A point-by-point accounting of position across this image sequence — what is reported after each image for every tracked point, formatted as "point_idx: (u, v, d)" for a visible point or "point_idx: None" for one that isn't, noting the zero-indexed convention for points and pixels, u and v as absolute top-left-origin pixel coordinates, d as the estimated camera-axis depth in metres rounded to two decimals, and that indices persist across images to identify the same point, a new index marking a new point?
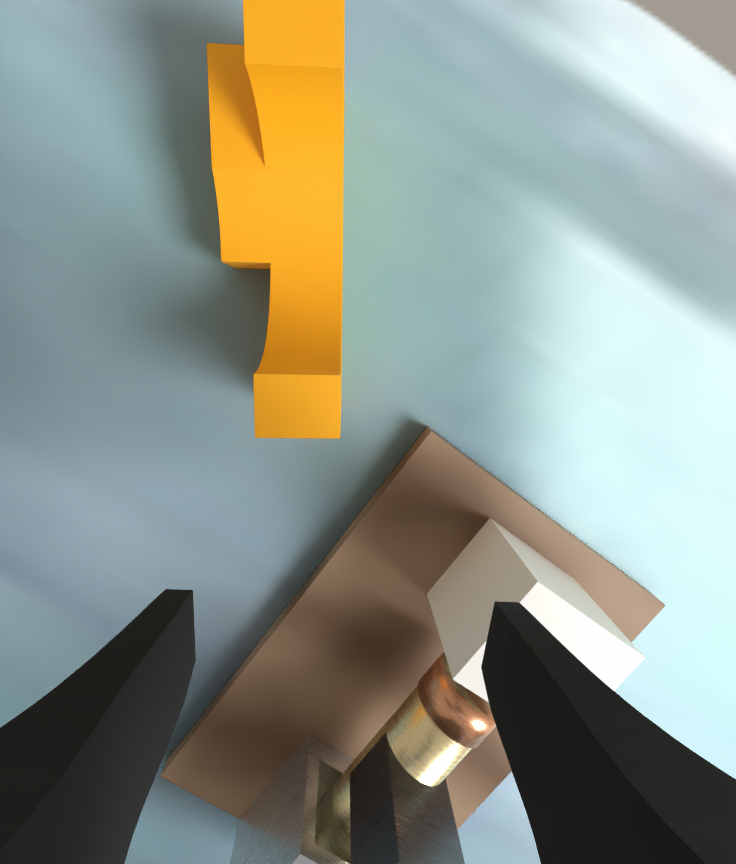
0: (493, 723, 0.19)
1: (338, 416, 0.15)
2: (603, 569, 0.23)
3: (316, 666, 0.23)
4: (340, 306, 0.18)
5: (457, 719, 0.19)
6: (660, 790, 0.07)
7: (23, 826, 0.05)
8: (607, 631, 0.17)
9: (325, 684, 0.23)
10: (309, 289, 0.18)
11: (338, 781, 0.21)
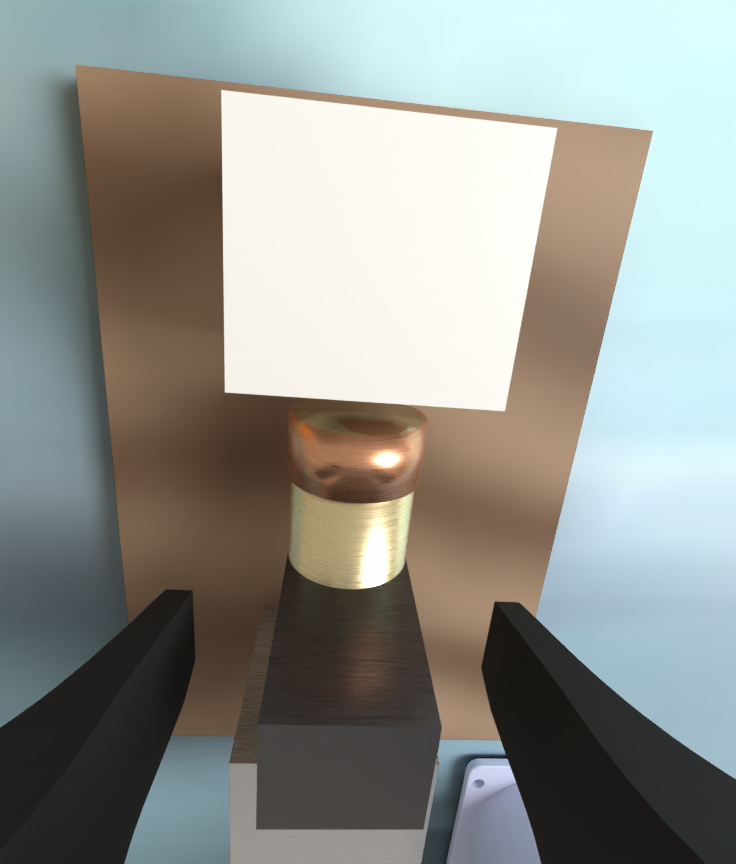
0: (395, 443, 0.10)
1: None
2: None
3: (204, 522, 0.16)
4: None
5: (331, 467, 0.10)
6: (660, 790, 0.07)
7: (23, 826, 0.05)
8: (441, 116, 0.07)
9: (232, 537, 0.16)
10: None
11: None
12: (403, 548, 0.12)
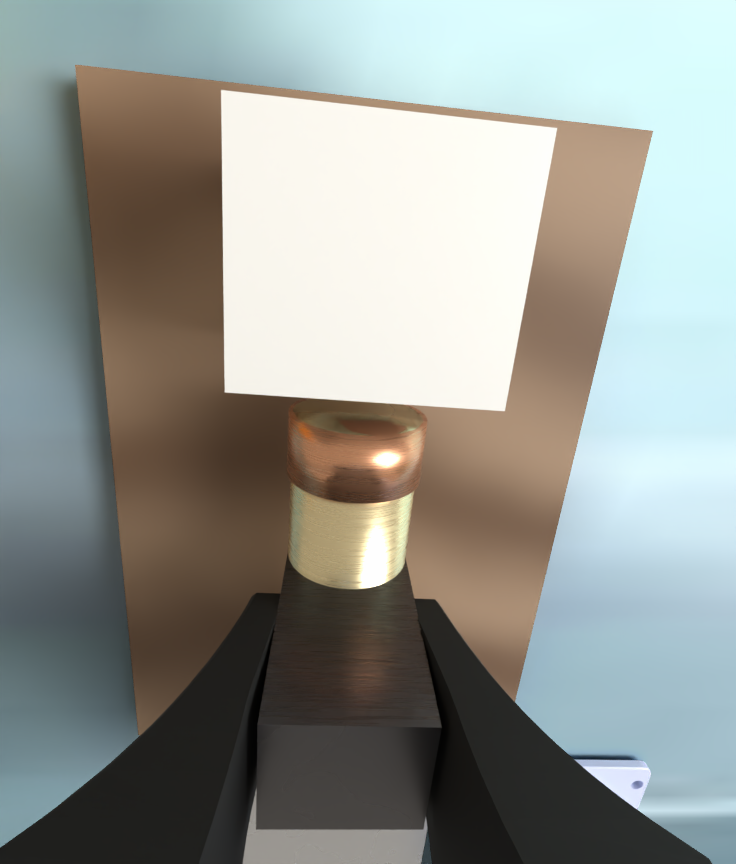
0: (395, 443, 0.10)
1: None
2: None
3: (203, 522, 0.16)
4: None
5: (331, 467, 0.10)
6: (512, 789, 0.06)
7: (209, 826, 0.06)
8: (440, 116, 0.07)
9: (232, 537, 0.16)
10: None
11: None
12: (403, 548, 0.12)
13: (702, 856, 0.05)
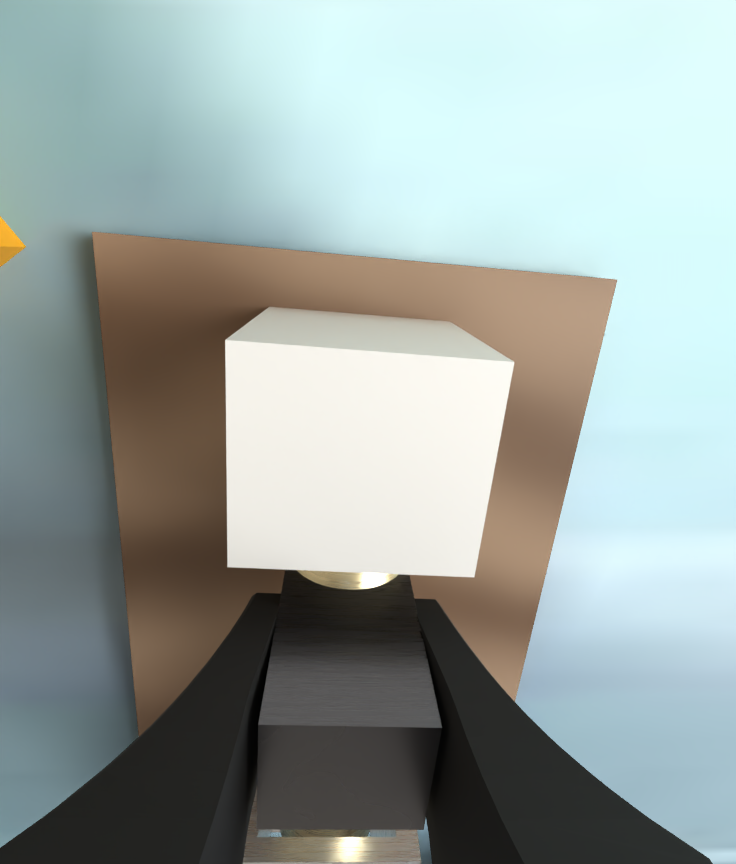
0: None
1: None
2: (486, 282, 0.14)
3: (206, 615, 0.17)
4: None
5: None
6: (512, 789, 0.06)
7: (209, 826, 0.06)
8: (413, 355, 0.09)
9: None
10: None
11: None
12: None
13: (702, 856, 0.05)
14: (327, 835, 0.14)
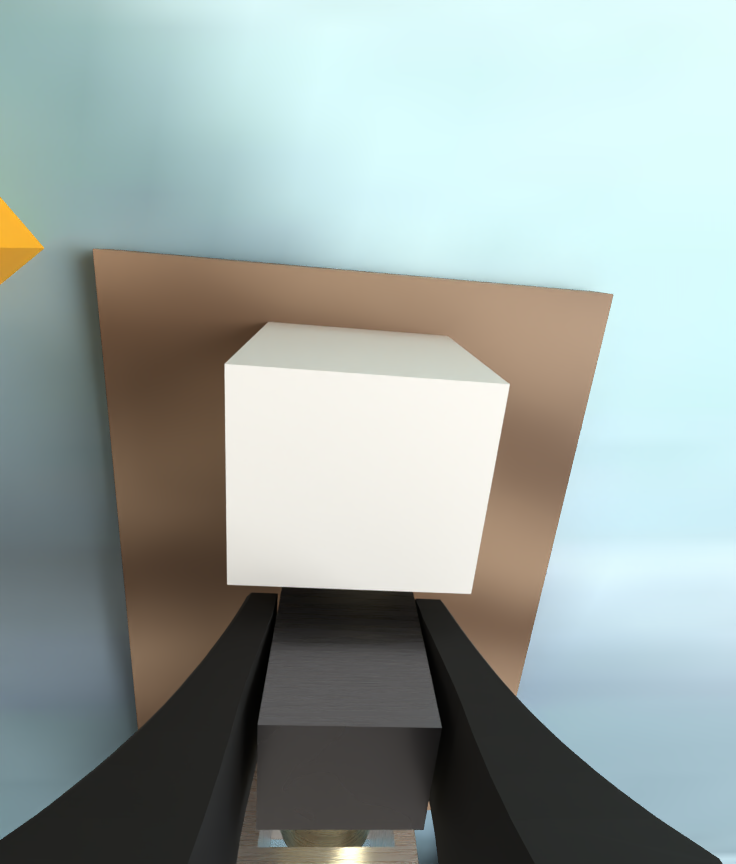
0: None
1: None
2: (483, 297, 0.14)
3: (207, 625, 0.17)
4: None
5: None
6: (521, 789, 0.06)
7: (200, 826, 0.06)
8: (410, 377, 0.09)
9: None
10: None
11: None
12: None
13: (712, 856, 0.06)
14: (327, 835, 0.14)
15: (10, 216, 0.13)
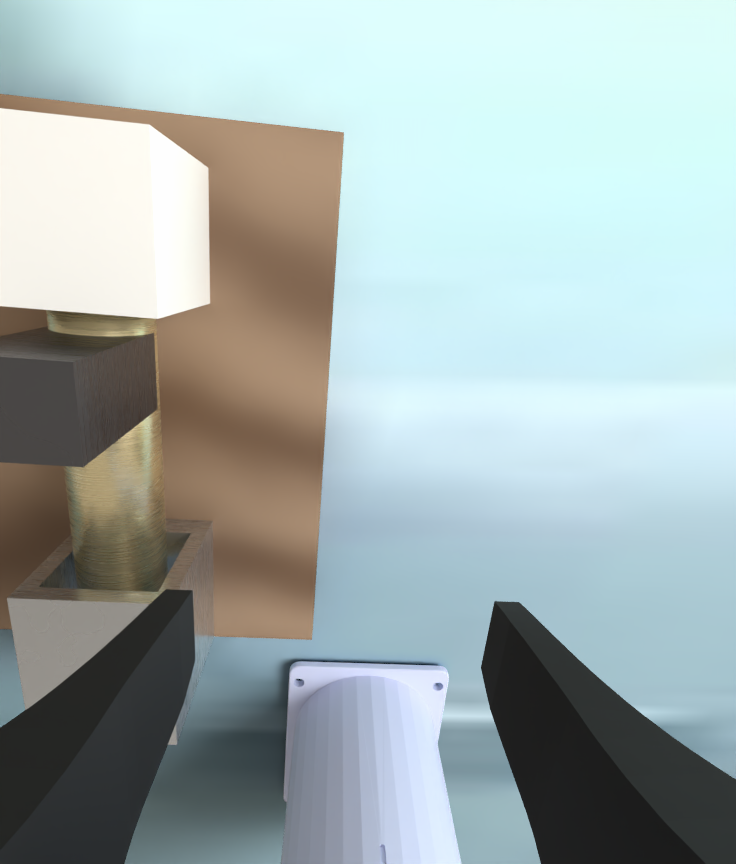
0: None
1: None
2: (233, 132, 0.17)
3: None
4: None
5: None
6: (660, 790, 0.07)
7: (23, 826, 0.05)
8: (70, 116, 0.12)
9: None
10: None
11: None
12: None
13: None
14: (105, 587, 0.17)
15: None
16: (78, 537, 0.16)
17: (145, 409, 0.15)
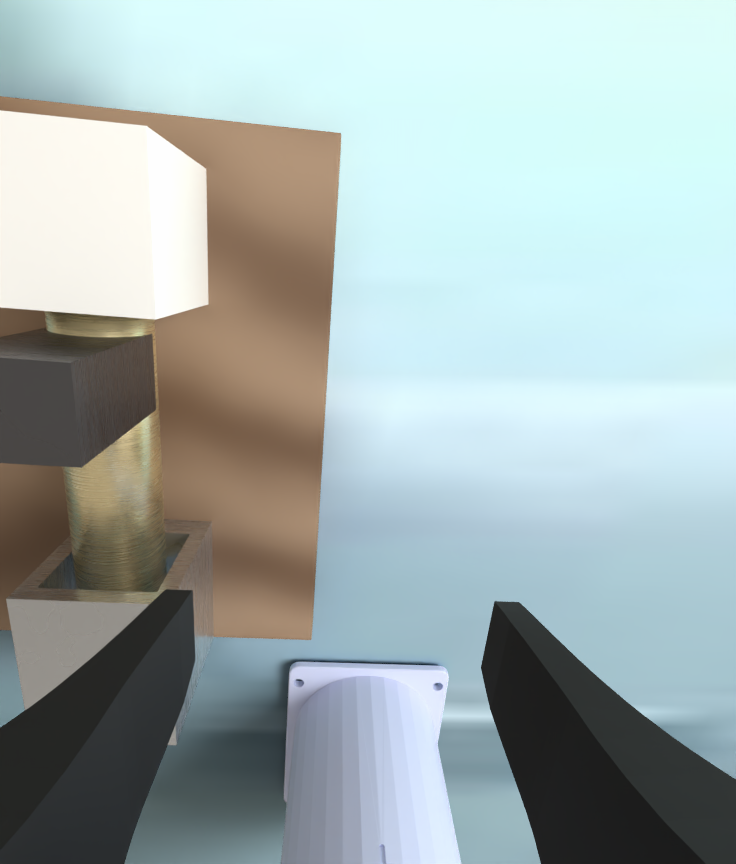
0: None
1: None
2: (231, 133, 0.17)
3: None
4: None
5: None
6: (660, 790, 0.07)
7: (23, 826, 0.05)
8: (68, 118, 0.12)
9: None
10: None
11: None
12: None
13: None
14: (104, 587, 0.17)
15: None
16: (77, 538, 0.16)
17: (144, 410, 0.15)
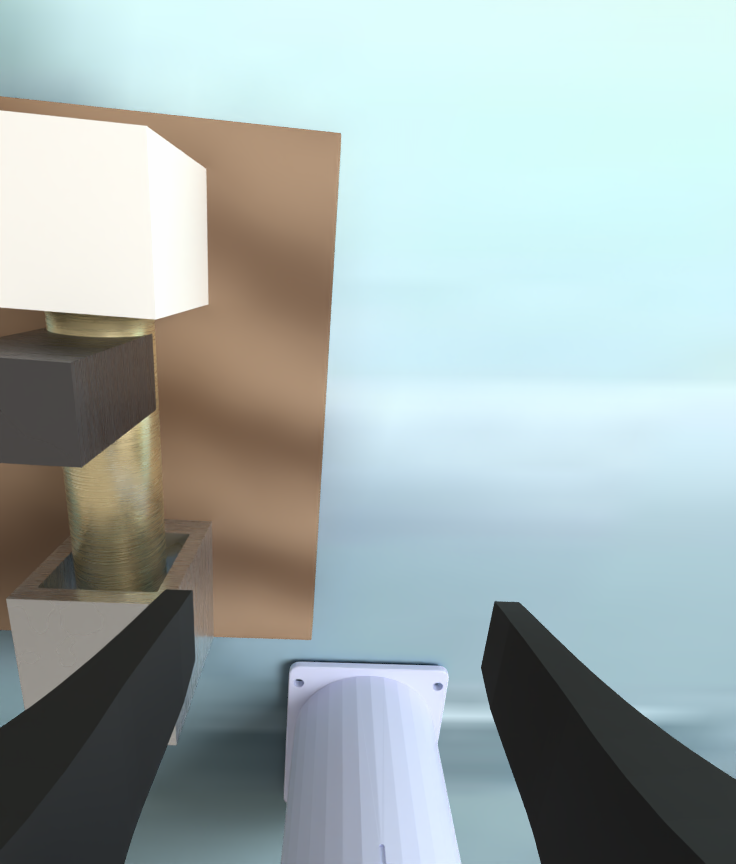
0: None
1: None
2: (231, 133, 0.17)
3: None
4: None
5: None
6: (660, 790, 0.07)
7: (23, 826, 0.05)
8: (68, 118, 0.12)
9: None
10: None
11: None
12: None
13: None
14: (104, 587, 0.17)
15: None
16: (77, 538, 0.16)
17: (144, 410, 0.15)
